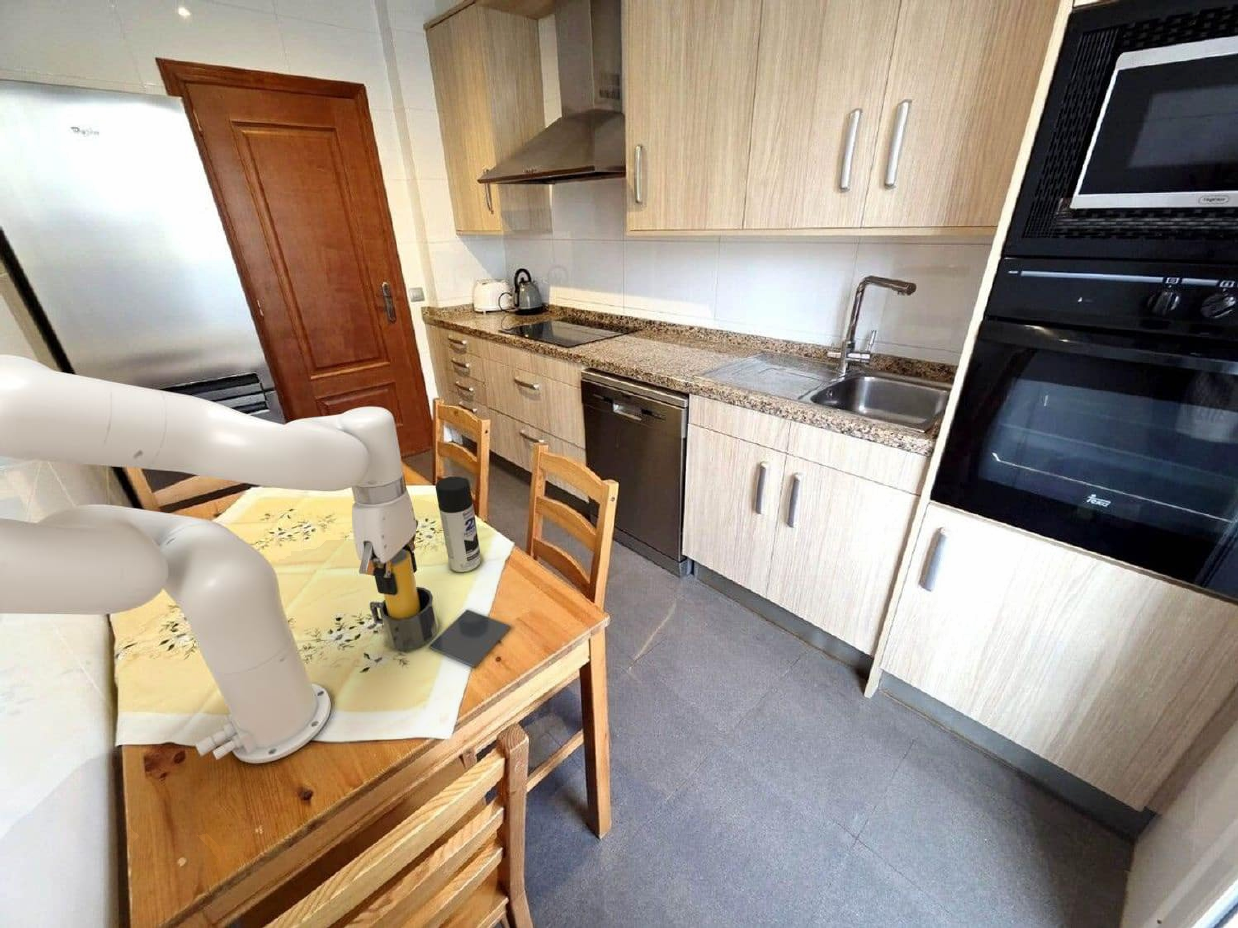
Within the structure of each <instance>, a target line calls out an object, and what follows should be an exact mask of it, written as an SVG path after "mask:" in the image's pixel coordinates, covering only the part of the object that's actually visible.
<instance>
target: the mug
mask: <svg viewBox="0 0 1238 928" xmlns="http://www.w3.org/2000/svg"><path fill="white" fill-rule="evenodd" d="M416 587H417V593H418V598H419V603H420V611H419V613H418V614H416V615H414V616H411V617H408V618H402V619H395V618H389V616H388V612H387V607H386V603H385V599H383V601H375V600H374V601H370V602H369V608H370V612H371V616H372V619H373V623H375V624H377V625H378V624H379V625H382V626H383V629H384V633H385V637H386V640H387V643H388V645H389V646H390V648H392V650H396V651H400V652H411V651H415V650H419V649H420V648H423V647H424V646H426V645H428V644H429V643H430V642H432V641H433V640H434V638H436V635H437V634H438V631H439V620H438V616H437V611H436V606H435V605H436V604H435V601H434V596H433V594H432V592H431V591H430V590H429V589H427V588H425V587H421V586H416ZM378 609H379V610H378Z"/></svg>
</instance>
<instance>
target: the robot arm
mask: <svg viewBox="0 0 1238 928" xmlns="http://www.w3.org/2000/svg"><path fill="white" fill-rule="evenodd" d="M0 456H1V457H5V458H12V459H19V460H26V461H38V462H48V463H49V462H50V463H64V464H75V465H76V464H78V465H88V466H89V465H91V466H105V467H114V468H115V467H116V468H129V469H130V468H131V469H142V470H154V471H166V472H167V471H168V472H178V473H184V474H189V475H195V476H199V477H204V478H209V479H216V480H223V481H229V482H230V481H231V482H237V483H244V484H248V485H254V486H262V487H268V488H275V489H282V490H295V491H310V492H311V491H315V492H339V491H345V490H348V489H350V488H351V492H352V496H353V497H352V498H353V501H354V503H353V504H352V507H351V524H352V534H353V540H354V547H355V551H356V555H357V559H358V560H359V561H360V565H359V568H358V569H359V570H358V573H359V574H360V575H366V576H372V577H374V580H375V581H374V582H375V585H376V589H377V593H379V594H383V595H384V594H388V595H396V594H397V593H398V591H397V586H396V581H395V576H394V574H392V573H391V558H393V557H394V556H395V555H396V554H397V553H398V552H399V551H400V550H401V549H404V550H407V551H409V552H410V555H411V560H412V565H413V571H414V574H415V573H417V571H418V567H417V562H416V561H417V560H416V556H415V552H414V551H415V550H416V544H415V540H416V537H417V534H416V532H417V530H418V526H419V520H418V519H416V515H415V511H414V506H413V501H412V499H411V495H410V494H409V490H408V488H407V483H406V479H405V473H404V467H403V461H402V456H401V450H400V444H399V439H398V432H397V427H396V423H395V418H394V415H393V414H392V412H391V411H390V410H388V409H386V408H384V407H381V406H361V407H356V408H352V409H349V410H347V411H345V412H343V413H340V414H332V415H326V416H325V415H324V416H313V417H306V418H299V419H295V420H291V421H289V422H287V423H284V424H282V423H278V422H275V421H270V420H267V419H263V418H260V417H258V416H257V417H256V416H253V415H250V414H247V413H244V412H241V411H238V410H236V409H233V408H231V407H228V406H226V405H223V404H220V403H217V402H214V401H212V400H208V399H204V398H200V397H197V396H193V395H189V394H183V393H177V392H171V391H167V390H161V389H153V388H149V387H143V386H138V385H131V384H126V383H120V382H116V381H110V380H105V379H101V378H97V377H96V378H95V377H90V376H84V375H78V374H72V373H67V372H62V371H58V370H53V369H51V368H50V367H48V365H47V366H46V365H45V364H44V363H41V362H38V361H35V360H34V359H31V358H27V357H23V356H20V355H14V354H13V355H12V354H0ZM378 562H381V563H384V568H383V569H382V568H378ZM272 565H273V564H271V562H269V560H268V559H267V558H266V556H265V555H263V554H262V552H260V551H259V550H258V549H256V548H255V547H254V546H253V545H251V544H250V542H249V543H248V541H246V540H244V539H243V538H242V537H240V536H239V535H238V534H237V533H235V532H233V530H231V529H229V528H228V527H226V526H224V525H222V524H221V523H218V522H216V521H213V520H209V519H205V518H201V517H196V516H188V515H182V514H175V513H169V512H162V511H156V510H148V509H141V508H137V507H135V508H134V507H128V506H121V505H112V504H97V503H95V504H94V503H93V504H92V503H91V504H81V505H75V506H70V507H66V508H63V509H60V510H57V511H55V512H52V513H50V514H48V515H47V516H45V517H44V518H42V519H40V520H39V521H38V522H30V521H24V520H17V519H12V518H11V519H10V518H0V614H6V615H7V614H8V615H10V614H11V615H14V614H15V615H17V614H18V615H19V614H20V615H80V616H82V615H83V616H84V615H85V616H86V615H88V616H90V615H91V616H99V615H100V616H101V615H115V614H120V613H125V612H130V611H132V610H135V609H138V608H140V607H143V606H145V605H146V604H149V602H152V600H154V599H155V598H157V596H159V594H161V592H162V591H165V593H166V594H167V595H168V596H169V598H170V599H171V600H173V602H174V603H175V604H176V606H178V608H179V610H180V611H181V612H182V614H183V616H184V617H185V619H186V620H187V623H188V625H189V627H190V629H191V632H192V635H193V638H194V640H195V643H196V646H197V648H198V650H199V652H200V654H201V657H202V659H203V660H204V663H205V665H206V667H207V668H208V670H209V672H210V674H211V676H212V678H213V681H214V682H215V684H216V687H217V689H218V691H219V692H220V694H221V697H222V699H223V701H224V703H225V705H226V707H227V709H228V711H229V713H228V714H227V718H228V719H229V721H228V722H227V723H225V724H223V725H222V726H221V727H222V729H220V730H218V731H217V732H215V733H213V734H211V735H210V734H209V736H207V737H204V738H203V739H201V740H200V741H198V742H197V743H195V744H194V745H195V748H196V749H197V752H198V754H199V756H200V757H201V758H202V757H204V756H205V755H207V754H209V753H210V752H212V754H213V756H214V757H215V759H216V761H218V760H220V759H221V758H223V757H224V756H227V755H228V754H229V753H230V752H232V753H233V754H234V756H235V757H236V758H237V759H238V760H239V761H242V762H245V763H248V764H263V763H264V764H265V763H269V762H273V761H277V760H279V759H282V758H284V757H287V756H289V755H290V754H292V753H294V752H296V751H298V750H299V749H300V748H302V747H304V746H305V745H306V744H308V743H309V742H310V741H311V740H313V739H314V738H315V736H317V734H318V733H319V732H320V731H321V730H322V728H323V727H324V725H325V724H326V723H327V720H328V718H329V717H330V713H331V710H332V709H331V708H332V702H331V699H330V695H329V694H328V691H327V690H326V689H325V688H324V687H323V686H321V685H320V684H316V683H312V682H311V679H310V676H309V674H308V671H307V668H306V665H305V663H304V660H303V658H302V655H301V653H300V650H299V647H298V645H297V641H296V638H295V635H294V633H293V631H292V629H291V626H290V624H289V621H288V618H287V614H286V612H285V609H284V605H283V602H282V596H281V591H280V583H279V578H278V575H277V573H276V571H275V569H274V567H273V566H272ZM227 741H228V742H227Z"/></svg>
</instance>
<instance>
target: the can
mask: <svg viewBox="0 0 1238 928" xmlns="http://www.w3.org/2000/svg"><path fill="white" fill-rule="evenodd" d="M378 568H382V569H383V568H384V563H381V562H378ZM391 573H392V574H394V576H395V581H396V586H397V591H398V593H397V594H396V595H388V594H383V598H384V600H385V603H386V607H387V612H388V616H389V618H395V619H402V618H408V617H411V616H414V615H416V614H418V613H419V611H420V603H419V598H418V593H417V587H418V586H417V582H416V577H415V573H414V571H413V565H412V560H411V555H410V552H409V551H407V550H404V549H401V550H400V551H399V552H398V553H397V554H396V555H395V556H394V557H393V558H391Z"/></svg>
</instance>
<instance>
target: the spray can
mask: <svg viewBox="0 0 1238 928" xmlns="http://www.w3.org/2000/svg"><path fill="white" fill-rule="evenodd" d="M435 492H436V499H437V505H438V510H439V517H440V521H441V527H442V532H443V537H444V543H445V548H446V553H447V559H448V564H449V567H450V569H451V570H453V571H454V572H457V573H469V572H471V571H473V570H476V569H477V568H478V567H479V566H480V565H481V563H482V556H481V549H480V542H479V535H478V529H477V522H476V515H475V508H474V501H473V495H472V490H471V484H470V480H469V479H468V478H466V477H461V476H447V477H443V478H442V479H439V481H437V482H436V484H435Z"/></svg>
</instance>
